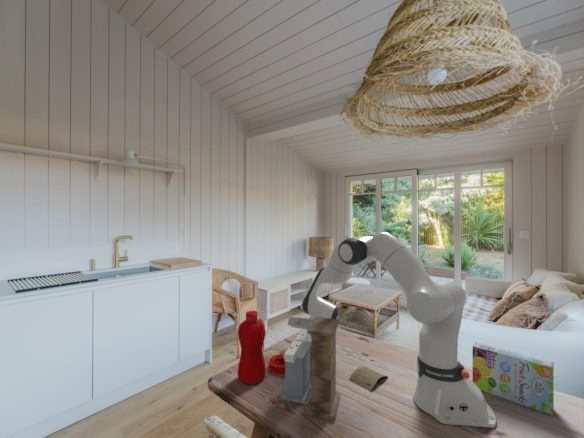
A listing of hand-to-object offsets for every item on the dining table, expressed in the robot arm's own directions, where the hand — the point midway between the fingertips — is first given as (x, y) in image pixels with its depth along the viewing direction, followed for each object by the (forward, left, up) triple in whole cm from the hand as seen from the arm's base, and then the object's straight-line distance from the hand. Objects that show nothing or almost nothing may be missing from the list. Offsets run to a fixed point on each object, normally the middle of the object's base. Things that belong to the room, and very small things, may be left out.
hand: (308, 320), depth 112 cm
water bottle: (+18, +13, -19) cm, 29 cm away
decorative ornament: (+11, +2, -20) cm, 23 cm away
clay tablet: (-23, 0, -20) cm, 31 cm away
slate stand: (0, +15, -19) cm, 24 cm away
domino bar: (0, +15, -4) cm, 15 cm away
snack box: (-69, -3, -19) cm, 72 cm away
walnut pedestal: (-10, +20, -19) cm, 29 cm away
